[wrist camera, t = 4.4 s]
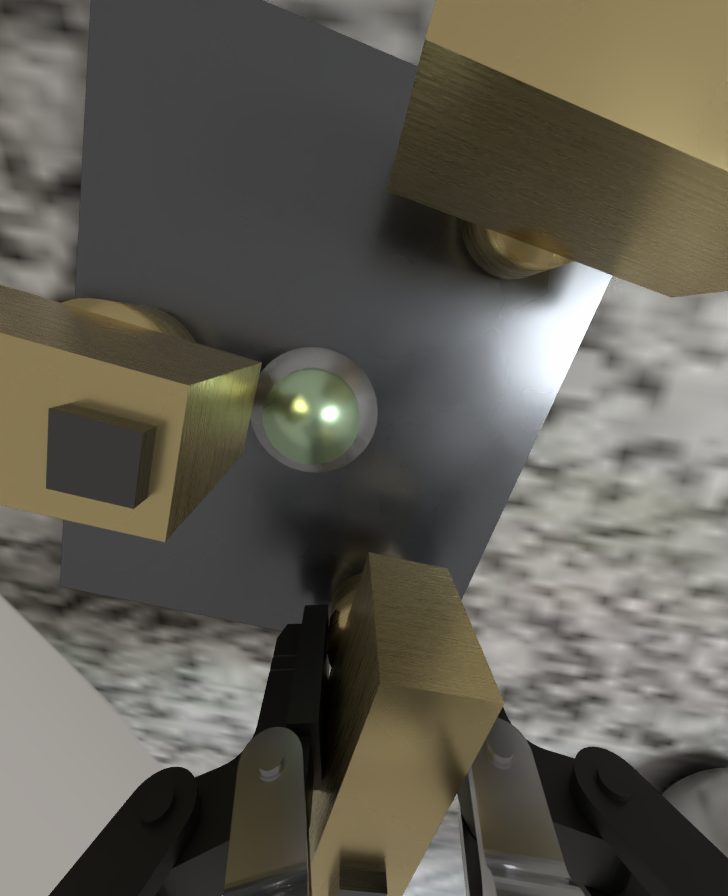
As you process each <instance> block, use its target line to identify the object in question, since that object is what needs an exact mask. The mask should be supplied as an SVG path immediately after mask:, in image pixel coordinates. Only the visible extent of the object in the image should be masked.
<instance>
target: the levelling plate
mask: <svg viewBox="0 0 728 896" xmlns="http://www.w3.org/2000/svg"><path fill="white" fill-rule="evenodd" d="M417 70H418V66H415V65H413V64H411V63H408V62H406V61H404V60H401V59H399V58H397V57H394V56H392V55H389V54H387V53H385V52H382V51H380V50H378V49H375V48H373V47H371V46H368V45H366V44H364V43H361V42H359V41H357V40H354V39H352V38H350V37H347V36H345V35H342V34H340V33H338V32H335V31H333V30H331V29H328V28H326V27H324V26H321V25H319V24H317V23H314V22H312V21H310V20H307V19H305V18H303V17H300V16H298V15H295V14H293V13H291V12H288V11H286V10H284V9H281V8H279V7H277V6H274V5H272V4H270V3H267V2H265V1H263V0H91V6H90V25H89V44H88V63H87V82H86V101H85V120H84V139H83V157H82V176H81V195H80V214H79V233H78V252H77V271H76V290H75V299H78V298H93V299H101V300H108V301H115V302H123V303H130V304H137V305H144V306H149V307H153V308H157V309H159V310H162V311H164V312H166V313H168V314H170V315H171V316H173V317H174V318H176V319H177V320H178V321H179V322H180V323H181V324H183V326H184V327H185V328H186V329H187V330H188V331H189V332H190V334H191V335H192V337H193V338H194V340H195V342H196V343H198V344H201V345H204V346H208V347H211V348H214V349H218V350H221V351H225V352H228V353H231V354H235V355H238V356H242V357H245V358H248V359H252V360H255V361H258V362H262V364H261V369H260V374H259V378H258V383H257V388H256V393H255V397H254V402H253V407H252V412H251V417H250V421H249V426H248V431H247V436H246V440H245V445H244V450H243V455H242V456H241V457H240V459H239V460H238V461H237V462H236V463H235V464H234V465H233V466H232V468H231V469H230V470H229V471H228V472H227V473H226V474H225V475H224V477H223V478H222V479H221V480H220V481H219V482H218V483H217V484H216V486H215V487H214V488H213V489H212V490H211V491H210V492H209V493H208V495H207V496H206V497H205V498H204V499H203V500H202V501H201V502H200V504H199V505H198V506H197V507H196V508H195V509H194V510H193V511H192V513H191V514H190V515H189V516H188V517H187V518H186V519H185V520H184V522H183V523H182V524H181V525H180V526H179V527H178V528H177V529H176V531H175V532H174V533H173V534H172V535H171V536H170V537H169V539H168V540H167V541H166V542H162V541H158V540H153V539H149V538H144V537H140V536H135V535H131V534H126V533H122V532H117V531H113V530H108V529H104V528H100V527H95V526H91V525H86V524H82V523H77V522H73V521H68V520H64V519H63V536H62V555H61V574H60V586H61V587H66V588H71V589H76V590H81V591H86V592H91V593H95V594H100V595H105V596H110V597H115V598H120V599H125V600H130V601H135V602H140V603H145V604H150V605H155V606H160V607H165V608H170V609H175V610H180V611H185V612H190V613H195V614H200V615H205V616H210V617H215V618H220V619H225V620H230V621H235V622H240V623H245V624H250V625H255V626H260V627H265V628H270V629H274V630H279V631H283V629H284V628H285V627H286V625H287V624H301V623H302V619H303V613H304V607H305V605H326V604H328V613H329V621H330V607H331V599H332V596H333V594H334V592H335V590H336V589H337V588H338V586H339V585H340V584H341V583H342V582H344V581H345V580H346V579H348V578H350V577H351V576H354V575H356V574H359V573H362V572H363V568H364V565H365V562H366V559H367V556H368V553H369V552H371V553H376V554H381V555H385V556H390V557H395V558H400V559H404V560H409V561H414V562H418V563H423V564H428V565H432V566H437V567H442V568H447V569H448V570H449V573H450V575H451V577H452V580H453V582H454V584H455V587H456V589H457V592H458V594H459V596H460V599H461V600H462V598H463V595H464V593H465V591H466V589H467V587H468V585H469V582H470V580H471V578H472V576H473V574H474V572H475V570H476V567H477V565H478V563H479V561H480V559H481V557H482V554H483V552H484V550H485V548H486V546H487V544H488V542H489V539H490V537H491V535H492V533H493V531H494V529H495V526H496V524H497V522H498V520H499V518H500V516H501V514H502V511H503V509H504V507H505V505H506V503H507V501H508V498H509V496H510V494H511V492H512V490H513V488H514V486H515V483H516V481H517V479H518V477H519V475H520V473H521V471H522V468H523V466H524V464H525V462H526V460H527V458H528V455H529V453H530V451H531V449H532V447H533V445H534V443H535V440H536V438H537V436H538V434H539V432H540V430H541V427H542V425H543V423H544V421H545V419H546V417H547V415H548V412H549V410H550V408H551V406H552V404H553V402H554V399H555V397H556V395H557V393H558V391H559V389H560V387H561V384H562V382H563V380H564V378H565V376H566V374H567V371H568V369H569V367H570V365H571V363H572V361H573V359H574V356H575V354H576V352H577V350H578V348H579V346H580V344H581V341H582V339H583V337H584V335H585V333H586V331H587V328H588V326H589V324H590V322H591V320H592V318H593V316H594V313H595V311H596V309H597V307H598V305H599V303H600V300H601V298H602V296H603V294H604V292H605V290H606V288H607V285H608V283H609V281H610V279H611V277H612V275H610V274H607V273H605V272H602V271H599V270H597V269H594V268H591V267H589V266H586V265H583V264H581V263H578V262H575V261H574V262H571V263H568V264H565V265H562V266H559V267H556V268H553V269H550V270H547V271H544V272H540V273H537V274H534V275H531V276H528V277H525V278H520V279H502V278H498V277H495V276H493V275H491V274H489V273H487V272H485V271H484V270H483V269H481V268H480V267H479V266H478V265H477V264H476V263H475V261H474V260H473V259H472V257H471V256H470V254H469V252H468V250H467V248H466V246H465V243H464V239H463V235H462V228H461V219H460V218H458V217H455V216H452V215H450V214H447V213H444V212H442V211H439V210H436V209H434V208H431V207H428V206H426V205H423V204H420V203H418V202H415V201H412V200H410V199H407V198H404V197H402V196H399V195H396V194H394V193H391V192H388V191H387V187H388V183H389V179H390V175H391V171H392V167H393V163H394V159H395V155H396V152H397V148H398V144H399V140H400V136H401V132H402V128H403V124H404V120H405V116H406V113H407V109H408V105H409V101H410V97H411V93H412V89H413V85H414V81H415V77H416V74H417Z"/></svg>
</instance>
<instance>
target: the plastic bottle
mask: <svg viewBox="0 0 728 896" xmlns="http://www.w3.org/2000/svg"><path fill="white" fill-rule="evenodd" d="M662 796H663V797H664V798H665V799H667V800H668V801H669V802H670V803H671V804H672V805H673V806H674V807H675V808H676V809H677V810H678V811H679V812H680V813H681V814H682V815H683V816H684V817H685V818H686V819H688V820H689V821H690V822H691V823H692V824H693V825H694V826H695V827H696V828H697V829H698V830H699V831H700V832H701V833H702V834H703V835H704V836H705V837H706V838H707V839H709V840H710V841H711V842H712V843H713V844H714V845H715V846H716V847H717V848H718V849H719V850H720V851H721V852H722V853H723V854H724V855H725V856H726V857H727V858H728V768H714V769H707V770H704V771H700V772H697V773H694V774H692V775H689V776H687V777H685V778H683V779H681V780H679V781H677V782H676V783H674V784H673V785H672V786H670V787H669V788H668V789H667V790H666V791H665V792H663V794H662Z"/></svg>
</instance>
